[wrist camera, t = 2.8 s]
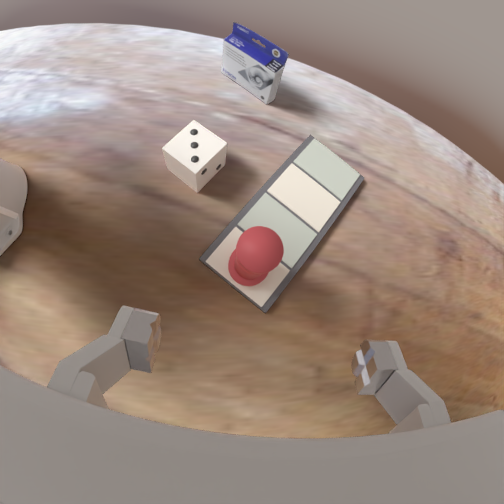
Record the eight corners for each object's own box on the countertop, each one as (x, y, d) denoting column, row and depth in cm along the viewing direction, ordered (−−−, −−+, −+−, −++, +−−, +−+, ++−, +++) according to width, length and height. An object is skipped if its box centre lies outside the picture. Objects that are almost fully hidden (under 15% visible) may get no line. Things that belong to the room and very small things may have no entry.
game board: (264, 312, 39) (266, 312, 38) (199, 259, 39) (199, 258, 38) (361, 180, 45) (365, 177, 44) (308, 138, 46) (310, 134, 44)
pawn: (251, 294, 38) (264, 286, 28) (219, 268, 38) (222, 252, 28) (276, 263, 39) (296, 245, 29) (245, 238, 39) (255, 212, 30)
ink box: (219, 73, 47) (222, 25, 35) (228, 67, 47) (233, 20, 36) (266, 107, 46) (280, 58, 35) (275, 100, 47) (290, 53, 35)
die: (197, 193, 41) (195, 174, 35) (167, 169, 41) (161, 148, 36) (225, 164, 43) (228, 142, 37) (195, 142, 43) (194, 119, 37)
